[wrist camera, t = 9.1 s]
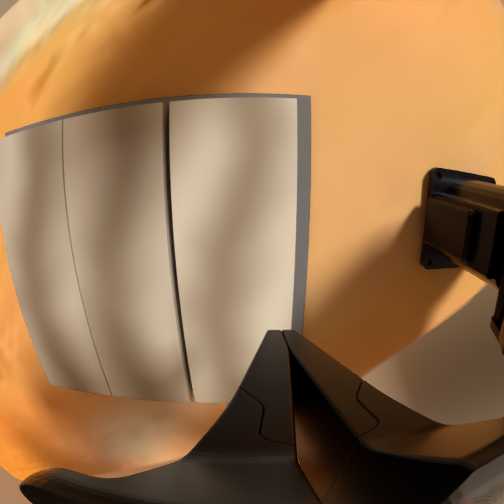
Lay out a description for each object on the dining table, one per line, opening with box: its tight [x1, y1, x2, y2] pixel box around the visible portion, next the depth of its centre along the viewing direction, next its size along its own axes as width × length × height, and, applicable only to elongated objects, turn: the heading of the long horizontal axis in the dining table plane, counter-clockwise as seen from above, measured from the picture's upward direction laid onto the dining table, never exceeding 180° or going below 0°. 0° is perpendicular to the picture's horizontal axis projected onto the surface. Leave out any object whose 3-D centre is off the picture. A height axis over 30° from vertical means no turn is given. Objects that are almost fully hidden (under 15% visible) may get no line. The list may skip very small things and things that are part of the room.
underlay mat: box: [5, 93, 311, 391], centre depth 16 cm, size 19×18×1 cm
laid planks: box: [0, 102, 192, 402], centre depth 15 cm, size 12×18×1 cm, turn 0°
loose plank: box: [169, 97, 297, 403], centre depth 16 cm, size 6×18×1 cm, turn 0°
